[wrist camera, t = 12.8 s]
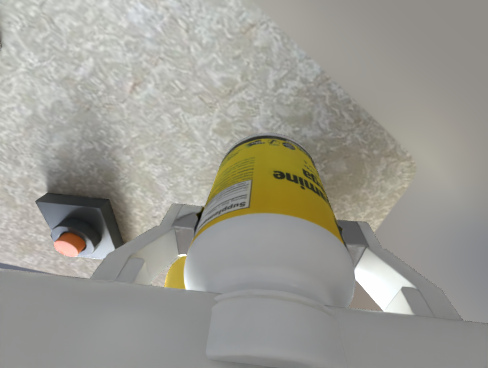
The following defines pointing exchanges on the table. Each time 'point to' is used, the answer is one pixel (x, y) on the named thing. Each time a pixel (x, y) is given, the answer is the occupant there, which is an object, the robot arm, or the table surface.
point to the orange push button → (69, 244)
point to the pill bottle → (271, 259)
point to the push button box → (82, 222)
